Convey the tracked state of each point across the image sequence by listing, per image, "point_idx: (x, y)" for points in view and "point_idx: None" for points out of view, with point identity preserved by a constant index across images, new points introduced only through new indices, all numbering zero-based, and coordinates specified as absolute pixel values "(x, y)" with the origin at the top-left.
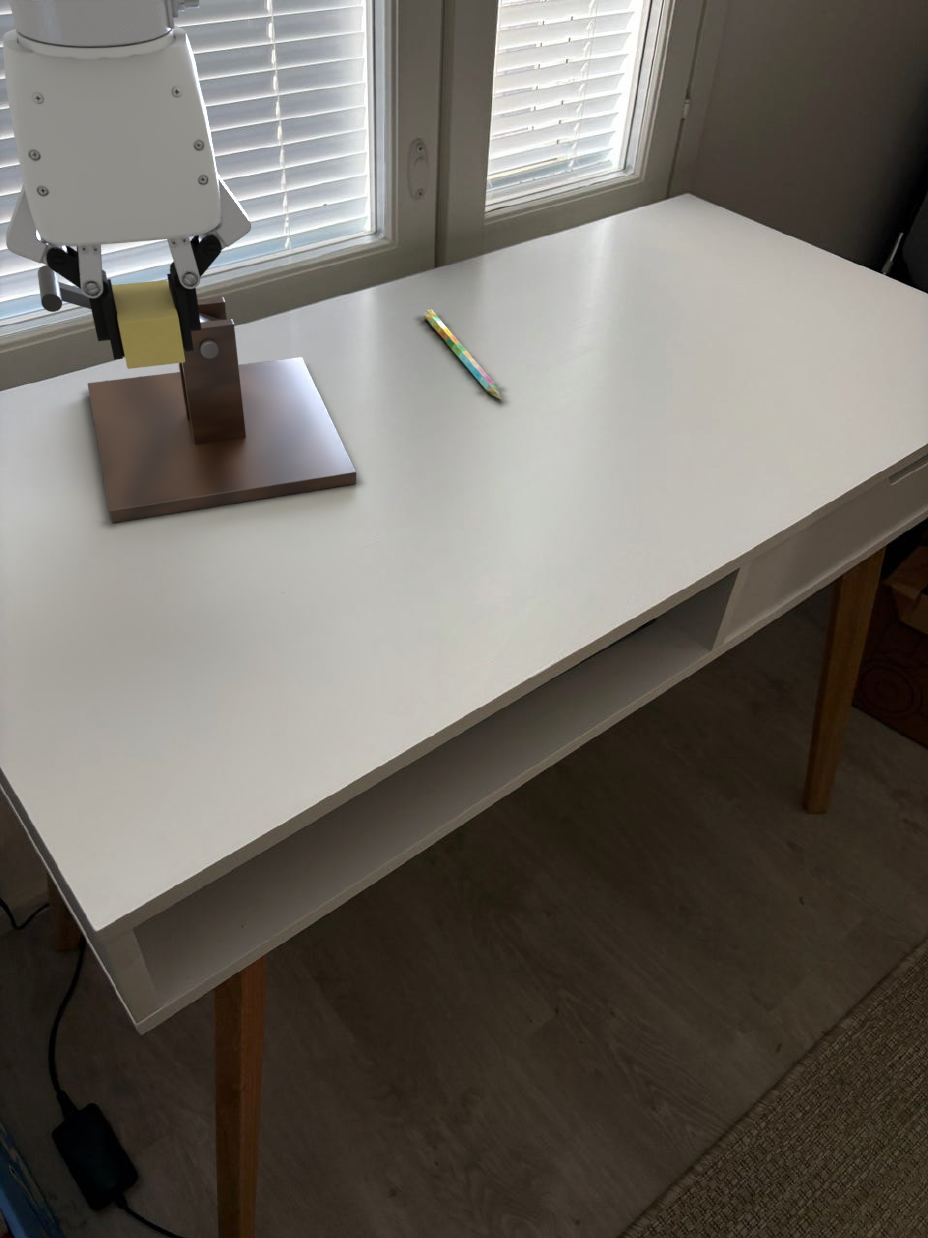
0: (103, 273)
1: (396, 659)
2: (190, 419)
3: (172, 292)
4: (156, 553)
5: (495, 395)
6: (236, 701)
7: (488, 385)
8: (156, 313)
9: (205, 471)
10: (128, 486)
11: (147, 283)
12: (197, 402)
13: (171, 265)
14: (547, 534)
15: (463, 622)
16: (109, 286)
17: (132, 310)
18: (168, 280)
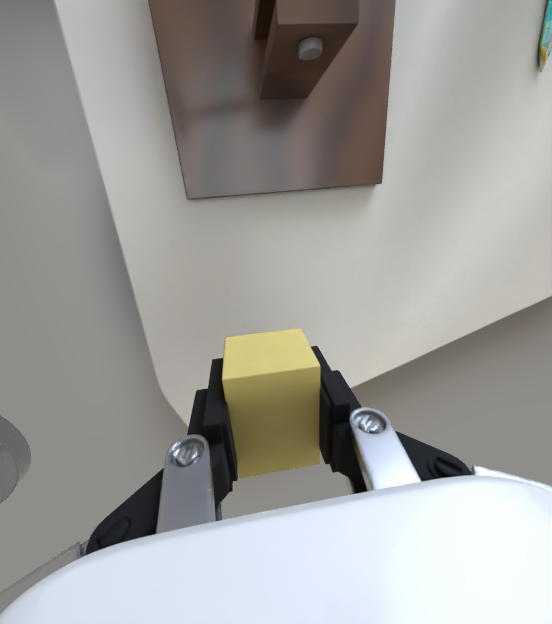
0: (219, 474)
1: (345, 351)
2: (260, 78)
3: (326, 463)
4: (224, 243)
5: (541, 63)
6: None
7: (547, 43)
8: (292, 458)
9: (265, 154)
10: (200, 164)
11: (285, 377)
12: (273, 79)
13: (344, 443)
14: (464, 267)
15: (386, 331)
16: (226, 450)
17: (259, 452)
18: (324, 411)
